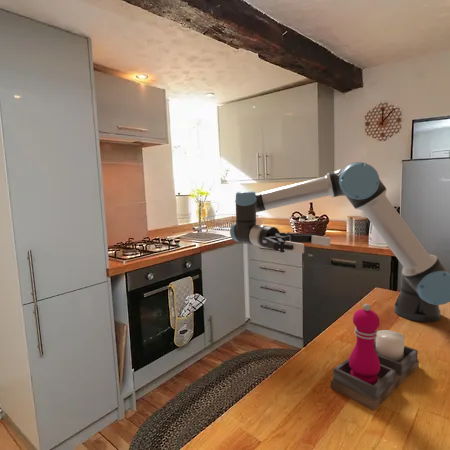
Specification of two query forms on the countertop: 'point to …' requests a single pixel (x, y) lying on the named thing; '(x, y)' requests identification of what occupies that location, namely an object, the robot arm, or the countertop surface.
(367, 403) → the two-compartment tray
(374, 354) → the pepper mill
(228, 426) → the countertop surface
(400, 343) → the white glossy dome
